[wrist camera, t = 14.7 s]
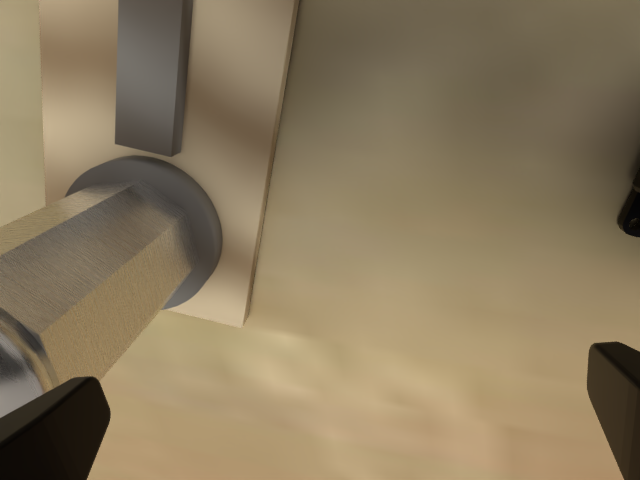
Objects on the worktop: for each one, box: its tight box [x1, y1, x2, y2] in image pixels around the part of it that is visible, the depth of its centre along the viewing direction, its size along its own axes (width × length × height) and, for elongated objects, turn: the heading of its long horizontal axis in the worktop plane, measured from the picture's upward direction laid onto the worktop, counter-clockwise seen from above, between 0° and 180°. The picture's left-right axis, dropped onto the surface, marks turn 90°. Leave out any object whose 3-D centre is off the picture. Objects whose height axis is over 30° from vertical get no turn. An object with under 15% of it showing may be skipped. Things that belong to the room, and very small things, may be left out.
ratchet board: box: [39, 0, 299, 328], centre depth 18 cm, size 20×10×5 cm, turn 169°
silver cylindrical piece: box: [0, 179, 199, 418], centre depth 16 cm, size 6×6×10 cm
